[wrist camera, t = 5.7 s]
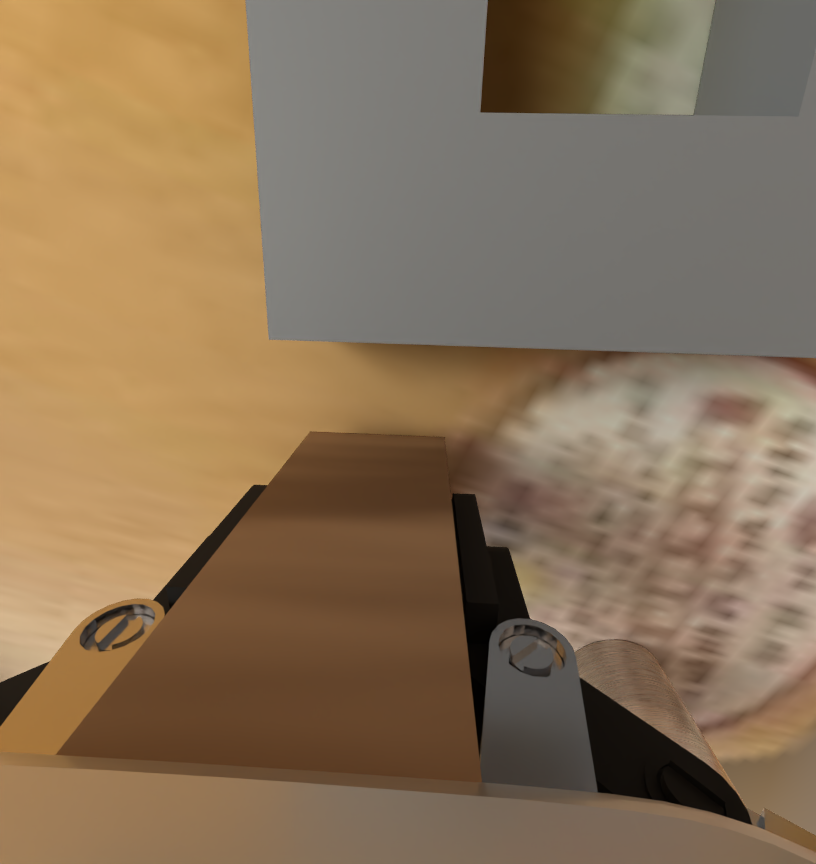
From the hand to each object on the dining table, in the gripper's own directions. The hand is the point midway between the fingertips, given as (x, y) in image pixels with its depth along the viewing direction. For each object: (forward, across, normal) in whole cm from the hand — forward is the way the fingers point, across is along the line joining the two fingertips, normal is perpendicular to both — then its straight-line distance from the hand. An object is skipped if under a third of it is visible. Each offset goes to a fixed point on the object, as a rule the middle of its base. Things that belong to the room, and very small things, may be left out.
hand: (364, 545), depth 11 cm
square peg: (+3, 0, 0) cm, 3 cm away
